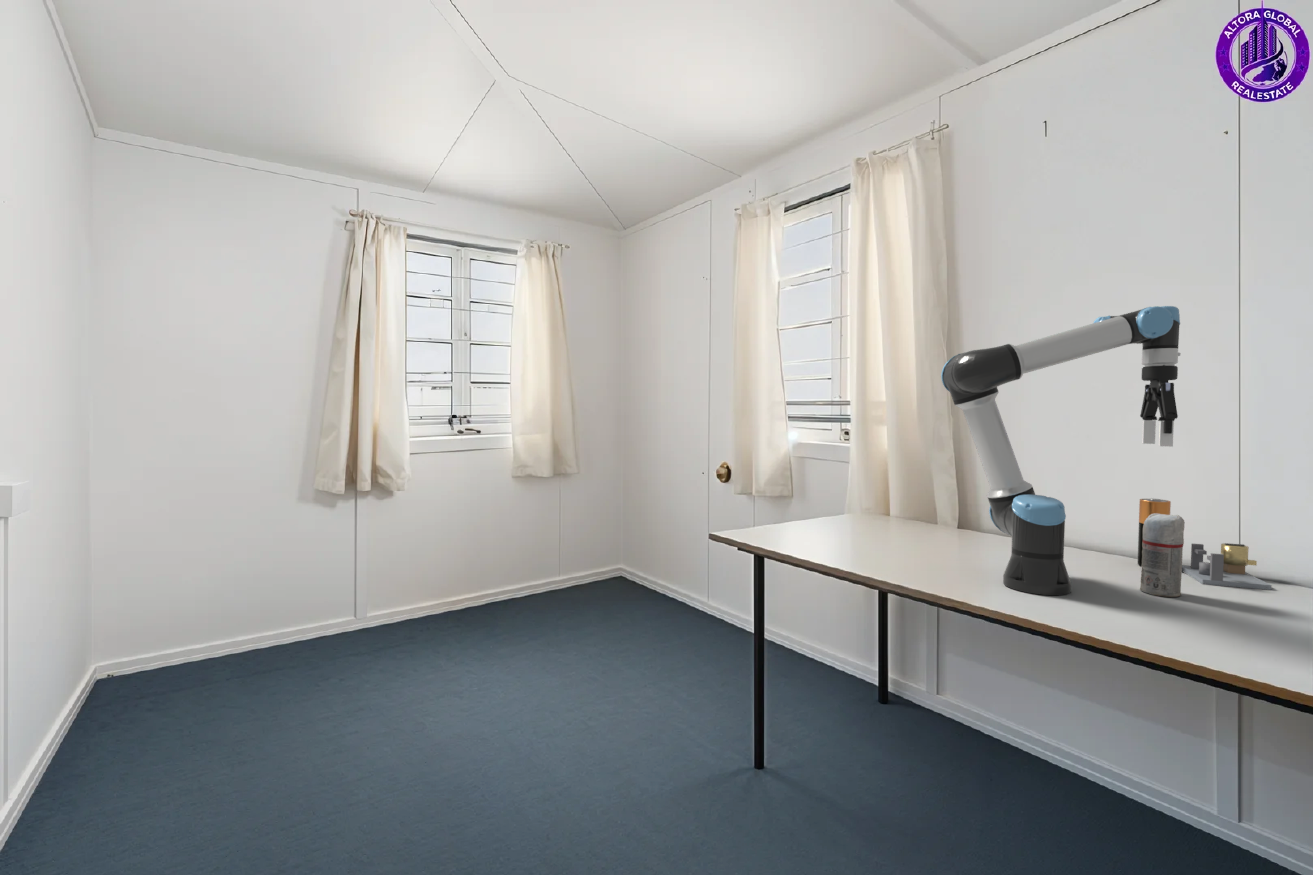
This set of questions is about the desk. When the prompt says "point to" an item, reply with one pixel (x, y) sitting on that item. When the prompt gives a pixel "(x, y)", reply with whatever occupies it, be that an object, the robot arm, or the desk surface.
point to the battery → (1145, 510)
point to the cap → (1236, 554)
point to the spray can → (1162, 555)
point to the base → (1219, 571)
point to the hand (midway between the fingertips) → (1156, 445)
